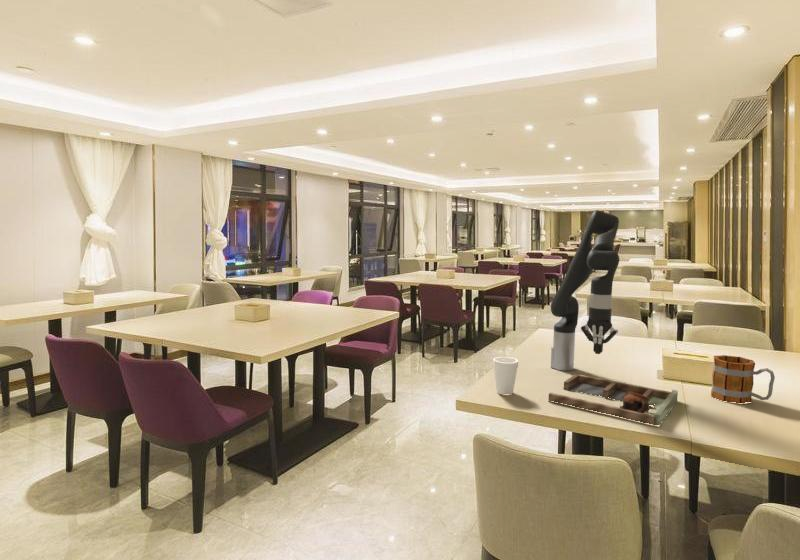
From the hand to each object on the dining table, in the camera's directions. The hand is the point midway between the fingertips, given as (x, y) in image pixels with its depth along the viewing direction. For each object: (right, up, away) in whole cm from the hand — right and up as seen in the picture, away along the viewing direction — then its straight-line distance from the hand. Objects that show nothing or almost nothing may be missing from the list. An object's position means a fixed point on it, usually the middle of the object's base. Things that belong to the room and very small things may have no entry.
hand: (597, 353), depth 177 cm
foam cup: (-31, -17, +13) cm, 38 cm away
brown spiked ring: (+10, -20, -8) cm, 24 cm away
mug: (+56, -19, +6) cm, 59 cm away
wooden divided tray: (+7, -18, +4) cm, 20 cm away
